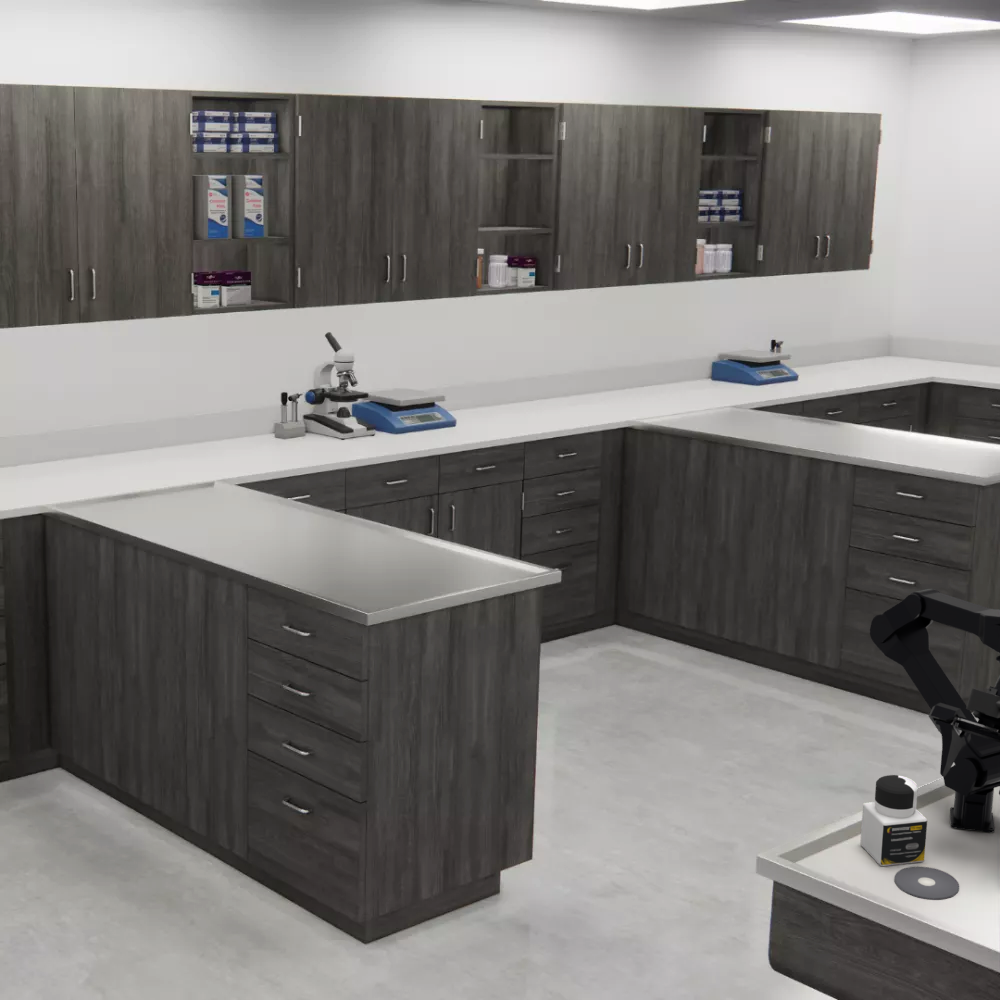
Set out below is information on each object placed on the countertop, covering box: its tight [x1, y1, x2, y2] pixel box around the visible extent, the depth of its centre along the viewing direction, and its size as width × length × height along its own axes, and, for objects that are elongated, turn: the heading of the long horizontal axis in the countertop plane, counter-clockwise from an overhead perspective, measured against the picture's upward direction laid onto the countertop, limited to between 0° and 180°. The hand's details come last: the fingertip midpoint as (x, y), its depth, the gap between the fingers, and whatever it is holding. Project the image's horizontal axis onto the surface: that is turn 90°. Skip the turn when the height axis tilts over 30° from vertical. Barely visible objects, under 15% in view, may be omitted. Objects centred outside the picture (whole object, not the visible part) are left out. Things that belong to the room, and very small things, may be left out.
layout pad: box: [894, 865, 960, 901], centre depth 209 cm, size 9×9×1 cm
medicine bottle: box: [860, 774, 928, 867], centre depth 216 cm, size 7×7×12 cm
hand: (970, 785), depth 210 cm, fingers open, 9 cm apart
